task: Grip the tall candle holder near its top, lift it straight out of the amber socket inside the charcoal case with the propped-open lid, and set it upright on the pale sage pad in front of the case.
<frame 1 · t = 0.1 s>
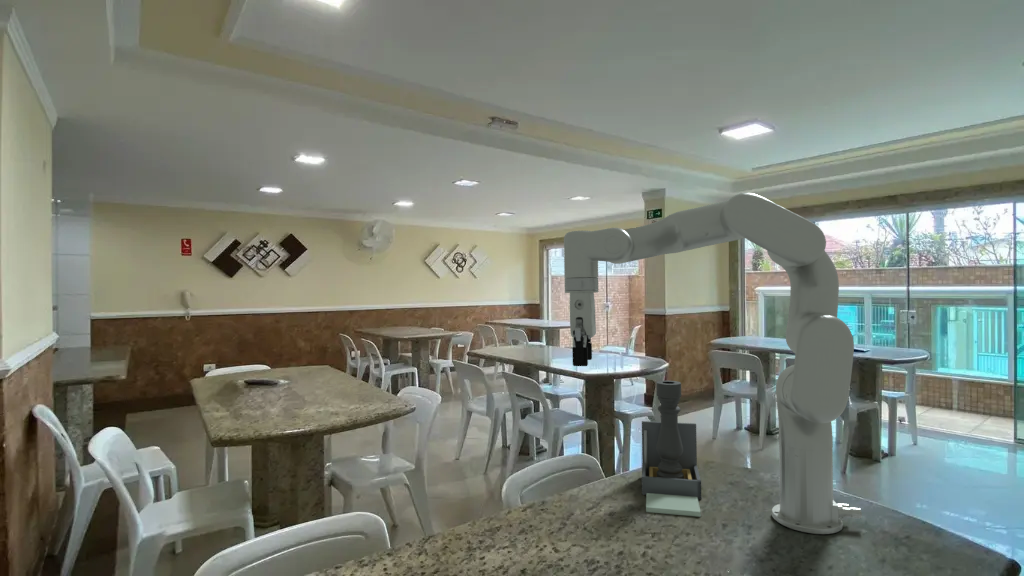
hand: (582, 362, 119), 31 cm above the table, fingers open, 9 cm apart
candle holder: (670, 488, 127), resting in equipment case
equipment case: (670, 487, 127), on the table
sage pad: (672, 506, 116), on the table
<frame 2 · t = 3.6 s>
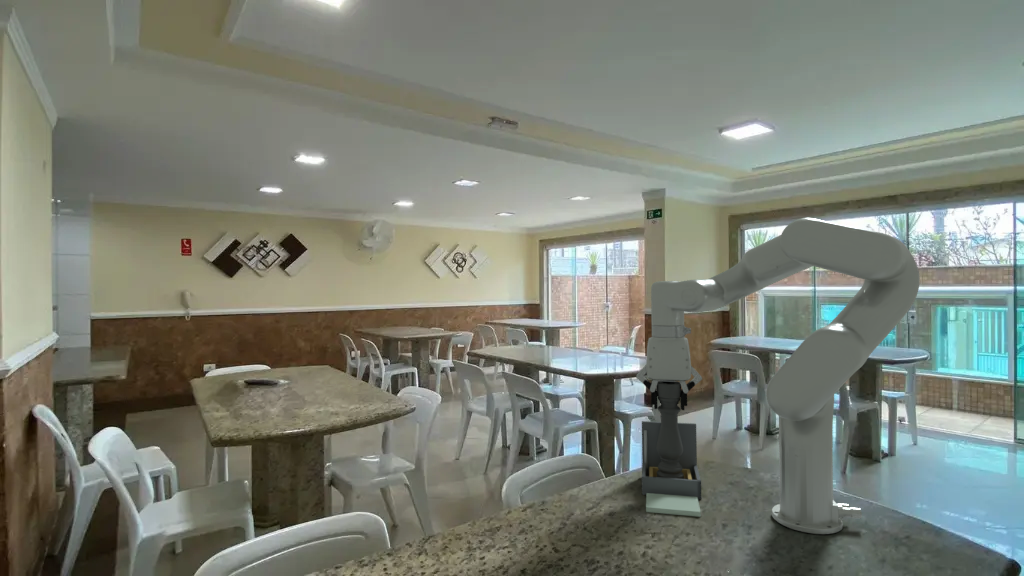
hand: (669, 407, 127), 19 cm above the table, fingers closed on candle holder, 5 cm apart
candle holder: (670, 487, 127), resting in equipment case, touching gripper
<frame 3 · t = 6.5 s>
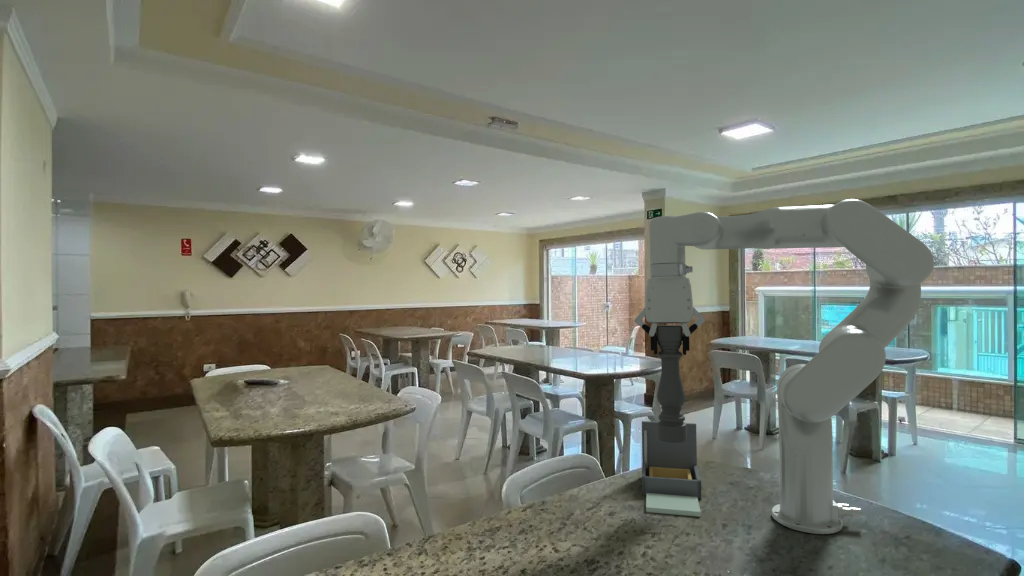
hand: (670, 353, 118), 33 cm above the table, fingers closed on candle holder, 5 cm apart
candle holder: (672, 439, 118), point 14 cm above the table, touching gripper
when the fingers open (21 cm above the table, at t = 9.4 s): candle holder drops 1 cm, resting on sage pad.
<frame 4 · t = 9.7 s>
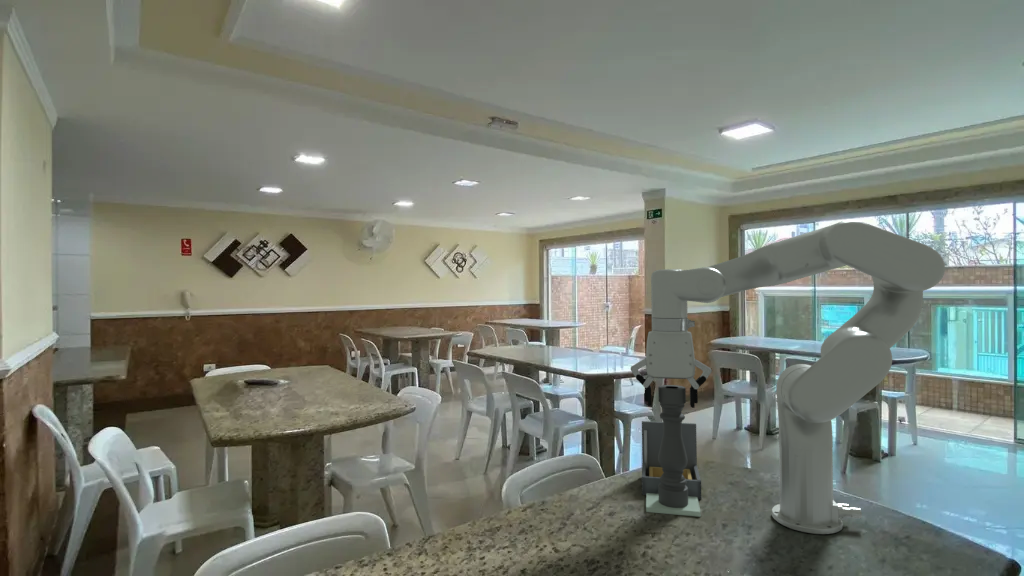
hand: (670, 405, 116), 22 cm above the table, fingers open, 8 cm apart
candle holder: (673, 503, 116), point 1 cm above the table, touching sage pad
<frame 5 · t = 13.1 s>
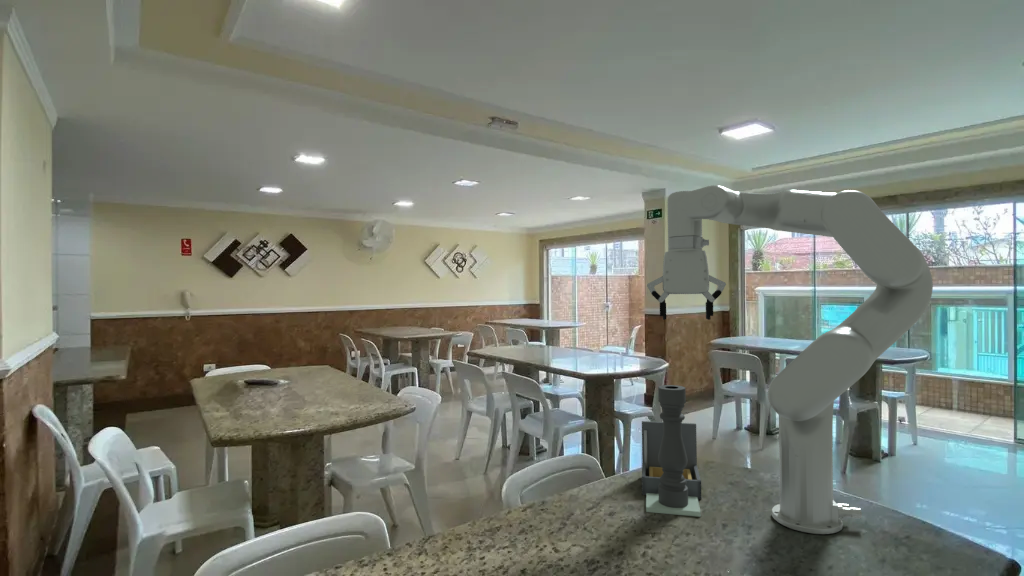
hand: (686, 319, 123), 40 cm above the table, fingers open, 9 cm apart
nothing on the table moved.
at the end: candle holder inside the target area on the sage pad (0.2 cm from its centre), point 0.8 cm above the sage pad's base; candle holder tilted 0°; the gripper is holding nothing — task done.
